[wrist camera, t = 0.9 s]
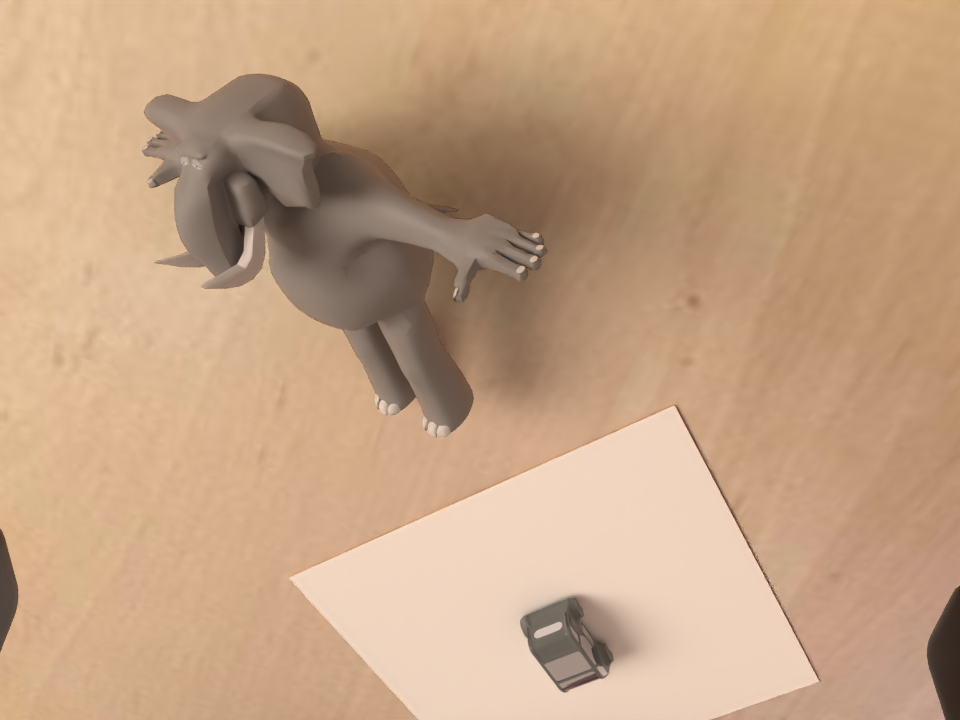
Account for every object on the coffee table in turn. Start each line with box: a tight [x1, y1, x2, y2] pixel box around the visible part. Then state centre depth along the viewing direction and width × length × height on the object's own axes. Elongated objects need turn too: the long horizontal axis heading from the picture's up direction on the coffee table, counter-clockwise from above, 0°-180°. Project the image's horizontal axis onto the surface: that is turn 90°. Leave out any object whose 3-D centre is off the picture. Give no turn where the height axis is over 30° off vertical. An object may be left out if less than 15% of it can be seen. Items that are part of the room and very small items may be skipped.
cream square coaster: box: [289, 405, 819, 720], centre depth 25 cm, size 12×12×2 cm
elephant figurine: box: [142, 74, 547, 437], centre depth 17 cm, size 10×6×9 cm
